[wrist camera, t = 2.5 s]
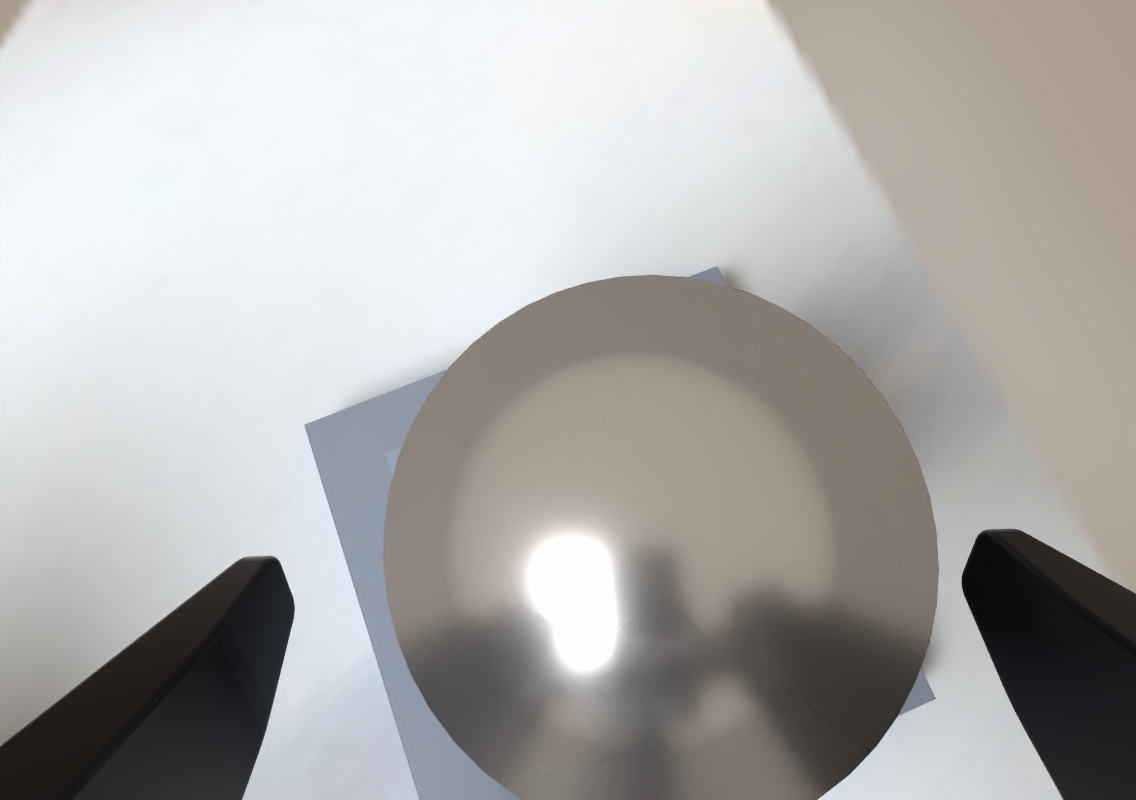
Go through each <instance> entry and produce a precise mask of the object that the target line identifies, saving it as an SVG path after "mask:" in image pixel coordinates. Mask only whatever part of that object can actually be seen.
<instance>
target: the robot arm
mask: <svg viewBox="0 0 1136 800" xmlns="http://www.w3.org/2000/svg"><path fill="white" fill-rule="evenodd" d="M962 589H963V593H964V596H965V598H966V601H967V603H968V605H969V608H970V610H971V612H972V615H973V617H974V619H975V622H976V624H977V626H978V629H979V631H980V633H981V636H982V638H983V640H984V643H985V645H986V647H987V650H988V652H989V654H990V657H991V659H992V661H993V664H994V666H995V668H996V671H997V673H998V675H999V677H1000V680H1001V682H1002V684H1003V687H1004V689H1005V691H1006V693H1007V695H1008V698H1009V700H1010V702H1011V704H1012V706H1013V708H1014V710H1015V712H1016V714H1017V716H1018V718H1019V720H1020V722H1021V724H1022V726H1023V727H1024V729H1025V731H1026V733H1027V735H1028V737H1029V738H1030V740H1031V742H1032V744H1033V746H1034V747H1035V749H1036V751H1037V753H1038V755H1039V756H1040V758H1041V760H1042V762H1043V764H1044V766H1045V767H1046V769H1047V771H1048V773H1049V775H1050V776H1051V778H1052V780H1053V782H1054V784H1055V786H1056V787H1057V789H1058V791H1059V793H1060V795H1061V796H1062V798H1063V800H1136V594H1135V593H1134V592H1132V591H1130V590H1128V589H1126V588H1125V587H1123V586H1121V585H1119V584H1117V583H1115V582H1114V581H1112V580H1110V579H1108V578H1106V577H1105V576H1103V575H1101V574H1099V573H1097V572H1095V571H1094V570H1092V569H1090V568H1088V567H1086V566H1085V565H1083V564H1081V563H1079V562H1077V561H1075V560H1074V559H1072V558H1070V557H1068V556H1066V555H1065V554H1063V553H1061V552H1059V551H1057V550H1055V549H1054V548H1052V547H1050V546H1048V545H1046V544H1045V543H1043V542H1041V541H1039V540H1037V539H1035V538H1034V537H1032V536H1030V535H1028V534H1026V533H1024V532H1022V531H1020V530H1017V529H989V530H984V531H982V532H981V533H980V534H979V535H978V536H977V538H976V540H975V543H974V546H973V548H972V551H971V553H970V556H969V558H968V561H967V563H966V566H965V568H964V571H963V574H962ZM294 611H295V606H294V600H293V596H292V593H291V591H290V588H289V585H288V582H287V580H286V577H285V574H284V571H283V569H282V566H281V564H280V562H279V560H278V559H277V558H276V557H273V556H253V557H244V558H241V559H239V560H238V561H236V562H235V563H234V564H233V565H231V566H230V567H229V568H227V569H226V570H225V571H224V572H222V573H221V574H220V575H218V576H217V577H216V578H215V579H213V580H212V581H211V582H209V583H208V584H207V585H206V586H204V587H203V588H202V589H201V590H199V591H198V592H197V593H195V594H194V595H193V596H192V597H190V598H189V599H188V600H186V601H185V602H184V603H183V604H181V605H180V606H179V607H177V608H176V609H175V610H174V611H172V612H171V613H170V614H169V615H167V616H166V617H165V618H163V619H162V620H161V621H160V622H158V623H157V624H156V625H154V626H153V627H152V628H151V629H149V630H148V631H147V632H145V633H144V634H143V635H142V636H140V637H139V638H138V639H137V640H135V641H134V642H133V643H131V644H130V645H129V646H128V647H126V648H125V649H124V650H122V651H121V652H120V653H119V654H117V655H116V656H115V657H113V658H112V659H111V660H110V661H108V662H107V663H106V664H104V665H103V666H102V667H101V668H99V669H98V670H97V671H96V672H94V673H93V674H92V675H90V676H89V677H88V678H87V679H85V680H84V681H83V682H81V683H80V684H79V685H78V686H76V687H75V688H74V689H72V690H71V691H70V692H69V693H67V694H66V695H65V696H64V697H62V698H61V699H60V700H58V701H57V702H56V703H55V704H53V705H52V706H51V707H49V708H48V709H47V710H46V711H44V712H43V713H42V714H40V715H39V716H38V717H37V718H35V719H34V720H33V721H32V722H30V723H29V724H28V725H26V726H25V727H24V728H23V729H21V730H20V731H19V732H17V733H16V734H15V735H14V736H12V737H11V738H10V739H8V740H7V741H6V742H5V743H3V744H2V745H1V746H0V800H242V798H243V795H244V793H245V790H246V787H247V784H248V781H249V779H250V776H251V773H252V770H253V768H254V765H255V762H256V759H257V756H258V753H259V750H260V747H261V744H262V741H263V738H264V735H265V732H266V728H267V725H268V721H269V717H270V713H271V709H272V705H273V701H274V697H275V693H276V689H277V685H278V681H279V677H280V672H281V668H282V664H283V660H284V656H285V652H286V648H287V644H288V640H289V636H290V631H291V627H292V623H293V619H294Z"/></svg>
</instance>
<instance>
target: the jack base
mask: <svg viewBox="0 0 1136 800" xmlns="http://www.w3.org/2000/svg"><path fill="white" fill-rule="evenodd" d="M688 278H692V279H697V280H703V281H708V282H713V283H718V284H721V285H725V286H727V285H726V283H725V281H724V279H723V277H722V275H721V273H720V271H719V269H718V267H715V268H712V269H709V270H707V271H704V272H701V273H699V274H696V275H694V276H691V277H688ZM446 371H447V370H446ZM446 371H444V372H441V373H438V374H436V375H433V376H431V377H428V378H425V379H423V380H420V381H418V382H415V383H412V384H410V385H407V386H405V387H402V388H399V389H397V390H394V391H392V392H389V393H386V394H384V395H381V396H378V397H376V398H373V399H371V400H368V401H365V402H363V403H360V404H358V405H355V406H352V407H350V408H347V409H345V410H342V411H339V412H337V413H334V414H332V415H329V416H326V417H324V418H321V419H319V420H316V421H313V422H311V423H308V424H306V425H305V429H306V432H307V435H308V438H309V442H310V445H311V448H312V451H313V455H314V458H315V461H316V465H317V468H318V471H319V474H320V478H321V481H322V484H323V487H324V491H325V494H326V497H327V500H328V504H329V507H330V510H331V513H332V517H333V520H334V523H335V526H336V530H337V533H338V536H339V539H340V543H341V546H342V549H343V552H344V556H345V559H346V562H347V565H348V569H349V572H350V575H351V578H352V582H353V585H354V588H355V591H356V595H357V598H358V601H359V604H360V608H361V611H362V614H363V617H364V621H365V624H366V627H367V630H368V634H369V637H370V640H371V643H372V647H373V650H374V653H375V656H376V660H377V663H378V666H379V669H380V673H381V676H382V679H383V682H384V686H385V689H386V692H387V695H388V699H389V702H390V705H391V708H392V712H393V715H394V718H395V721H396V725H397V728H398V731H399V734H400V738H401V741H402V744H403V748H404V751H405V754H406V757H407V761H408V764H409V767H410V770H411V774H412V777H413V780H414V783H415V787H416V790H417V793H418V796H419V800H522V799H520V798H518V797H517V796H515V795H513V794H512V793H511V792H509V791H508V790H507V789H505V788H504V787H503V786H502V785H500V784H499V783H498V782H497V781H495V780H494V779H493V778H491V777H490V776H489V775H488V774H486V773H485V772H484V771H482V770H481V769H480V768H479V767H478V766H477V765H476V764H475V763H474V762H473V761H472V759H471V758H470V757H469V756H468V755H467V754H466V753H465V752H464V751H463V750H462V749H461V748H460V747H459V746H458V745H457V744H456V743H455V742H454V741H453V740H452V738H451V737H450V736H449V734H448V733H447V732H446V730H445V729H444V727H443V726H442V725H441V723H440V722H439V721H438V719H437V718H436V717H435V715H434V714H433V713H432V711H431V710H430V708H429V707H428V705H427V703H426V701H425V699H424V697H423V696H422V694H421V692H420V690H419V688H418V687H417V685H416V683H415V681H414V679H413V678H412V676H411V674H410V671H409V669H408V666H407V663H406V661H405V658H404V656H403V653H402V651H401V648H400V646H399V643H398V640H397V638H396V634H395V630H394V626H393V622H392V617H391V613H390V609H389V605H388V601H387V593H386V584H385V575H384V567H383V540H384V521H385V514H386V507H387V500H388V493H389V488H390V485H391V481H392V477H393V474H394V470H395V466H396V463H397V459H398V456H399V453H400V451H401V449H402V446H403V444H404V442H405V439H406V437H407V434H408V432H409V430H410V427H411V425H412V423H413V421H414V419H415V418H416V416H417V414H418V412H419V411H420V409H421V407H422V405H423V404H424V402H425V400H426V398H427V397H428V395H429V394H430V392H431V391H432V390H433V388H434V387H435V386H436V384H437V383H438V382H439V380H440V379H441V378H442V376H443V375H444V374H445V372H446ZM934 699H936V698H935V696H934V694H933V692H932V690H931V688H930V686H929V684H928V682H927V680H926V678H925V676H924V674H923V672H922V670H921V668H920V671H919V674H918V677H917V680H916V682H915V684H914V686H913V688H912V690H911V692H910V694H909V696H908V697H907V699H906V701H905V703H904V705H903V707H902V709H901V711H900V713H899V715H901V714H903V713H905V712H908V711H910V710H912V709H914V708H916V707H918V706H921V705H923V704H925V703H927V702H929V701H932V700H934ZM899 715H898V716H899Z"/></svg>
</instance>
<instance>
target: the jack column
mask: <svg viewBox="0 0 1136 800" xmlns="http://www.w3.org/2000/svg"><path fill="white" fill-rule="evenodd" d="M383 567H384V575H385V584H386V593H387V601H388V605H389V609H390V613H391V617H392V622H393V626H394V630H395V634H396V638H397V640H398V643H399V646H400V648H401V651H402V653H403V656H404V658H405V661H406V663H407V666H408V669H409V671H410V674H411V676H412V678H413V679H414V681H415V683H416V685H417V687H418V688H419V690H420V692H421V694H422V696H423V697H424V699H425V701H426V703H427V705H428V707H429V708H430V710H431V711H432V713H433V714H434V715H435V717H436V718H437V719H438V721H439V722H440V723H441V725H442V726H443V727H444V729H445V730H446V732H447V733H448V734H449V736H450V737H451V738H452V740H453V741H454V742H455V743H456V744H457V745H458V746H459V747H460V748H461V749H462V750H463V751H464V752H465V753H466V754H467V755H468V756H469V757H470V758H471V759H472V761H473V762H474V763H475V764H476V765H477V766H478V767H479V768H480V769H481V770H482V771H484V772H485V773H486V774H488V775H489V776H490V777H491V778H493V779H494V780H495V781H497V782H498V783H499V784H500V785H502V786H503V787H504V788H505V789H507V790H508V791H509V792H511V793H512V794H513V795H515V796H517V797H518V798H520V799H522V800H817V799H819V798H820V797H821V796H823V795H824V794H825V793H826V792H828V791H829V790H830V789H832V788H833V787H834V786H835V785H837V784H838V783H839V782H841V781H842V780H843V779H844V778H846V777H847V776H848V775H849V774H850V773H851V772H852V771H853V770H854V769H855V768H856V767H857V766H858V765H859V764H860V763H861V762H862V761H863V760H864V759H865V758H866V757H867V756H868V755H869V753H870V752H871V751H872V750H873V749H874V748H875V747H876V746H877V745H878V743H879V742H880V740H881V739H882V738H883V736H884V735H885V733H886V732H887V730H888V729H889V728H890V726H891V725H892V723H893V722H894V721H895V719H896V718H897V716H898V715H899V713H900V711H901V709H902V707H903V705H904V703H905V701H906V699H907V697H908V696H909V694H910V692H911V690H912V688H913V686H914V684H915V682H916V680H917V677H918V674H919V671H920V668H921V665H922V662H923V660H924V657H925V654H926V651H927V648H928V645H929V641H930V636H931V631H932V626H933V621H934V616H935V611H936V605H937V589H938V573H939V564H938V549H937V534H936V527H935V522H934V517H933V512H932V507H931V501H930V496H929V493H928V490H927V487H926V484H925V481H924V477H923V474H922V471H921V468H920V465H919V462H918V459H917V457H916V455H915V453H914V451H913V449H912V447H911V445H910V442H909V440H908V438H907V436H906V434H905V432H904V430H903V428H902V426H901V424H900V423H899V421H898V420H897V418H896V416H895V415H894V413H893V412H892V410H891V408H890V407H889V405H888V404H887V402H886V400H885V399H884V397H883V396H882V395H881V393H880V392H879V391H878V390H877V389H876V387H875V386H874V385H873V384H872V382H871V381H870V380H869V379H868V377H867V376H866V375H865V374H864V372H863V371H862V370H861V369H860V368H859V367H858V366H857V365H856V364H855V363H854V362H853V361H852V360H851V359H850V358H849V357H848V356H847V355H846V354H845V353H844V352H843V351H842V350H841V349H840V348H839V347H838V346H836V345H835V344H834V343H833V342H831V341H830V340H829V339H827V338H826V337H825V336H824V335H822V334H821V333H820V332H818V331H817V330H816V329H814V328H813V327H812V326H811V325H809V324H808V323H806V322H804V321H803V320H801V319H799V318H798V317H796V316H794V315H793V314H791V313H789V312H788V311H786V310H784V309H782V308H781V307H779V306H777V305H775V304H772V303H770V302H768V301H766V300H763V299H761V298H759V297H757V296H754V295H752V294H750V293H747V292H744V291H741V290H737V289H734V288H731V287H728V286H725V285H721V284H718V283H713V282H708V281H703V280H697V279H692V278H686V277H674V276H658V275H645V276H628V277H616V278H611V279H605V280H600V281H594V282H589V283H585V284H582V285H578V286H575V287H572V288H569V289H566V290H562V291H559V292H556V293H554V294H552V295H549V296H547V297H545V298H543V299H540V300H538V301H536V302H534V303H532V304H529V305H527V306H525V307H524V308H522V309H520V310H519V311H517V312H516V313H514V314H512V315H511V316H509V317H507V318H506V319H504V320H502V321H501V322H499V323H498V324H496V325H495V326H494V327H493V328H491V329H490V330H489V331H488V332H486V333H485V334H484V335H483V336H481V337H480V338H479V339H478V340H476V341H475V342H474V343H473V344H472V345H471V346H470V347H469V348H468V349H467V350H466V351H465V352H464V353H463V354H462V355H461V356H460V357H459V358H458V359H457V360H456V361H455V362H454V363H453V364H452V365H451V366H450V367H449V368H448V370H447V371H446V372H445V374H444V375H443V376H442V378H441V379H440V380H439V382H438V383H437V384H436V386H435V387H434V388H433V390H432V391H431V392H430V394H429V395H428V397H427V398H426V400H425V402H424V404H423V405H422V407H421V409H420V411H419V412H418V414H417V416H416V418H415V419H414V421H413V423H412V425H411V427H410V430H409V432H408V434H407V437H406V439H405V442H404V444H403V446H402V449H401V451H400V453H399V456H398V459H397V463H396V466H395V470H394V474H393V477H392V481H391V485H390V488H389V493H388V500H387V507H386V514H385V521H384V540H383Z"/></svg>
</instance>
